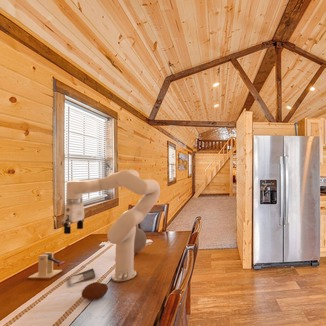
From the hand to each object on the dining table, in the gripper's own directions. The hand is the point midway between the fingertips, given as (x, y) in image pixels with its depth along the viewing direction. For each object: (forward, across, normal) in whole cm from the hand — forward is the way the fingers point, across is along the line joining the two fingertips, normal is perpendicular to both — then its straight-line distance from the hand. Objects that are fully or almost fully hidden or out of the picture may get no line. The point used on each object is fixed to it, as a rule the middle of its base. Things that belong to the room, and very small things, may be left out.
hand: (73, 231), depth 134 cm
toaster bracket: (+26, 0, +16) cm, 31 cm away
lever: (+18, +1, +12) cm, 22 cm away
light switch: (+26, -4, -8) cm, 28 cm away
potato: (+26, -22, -27) cm, 44 cm away
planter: (+26, +35, -17) cm, 47 cm away
